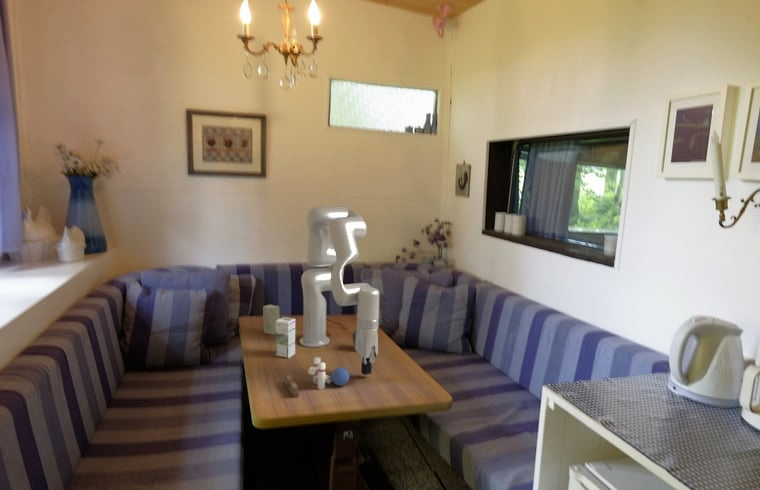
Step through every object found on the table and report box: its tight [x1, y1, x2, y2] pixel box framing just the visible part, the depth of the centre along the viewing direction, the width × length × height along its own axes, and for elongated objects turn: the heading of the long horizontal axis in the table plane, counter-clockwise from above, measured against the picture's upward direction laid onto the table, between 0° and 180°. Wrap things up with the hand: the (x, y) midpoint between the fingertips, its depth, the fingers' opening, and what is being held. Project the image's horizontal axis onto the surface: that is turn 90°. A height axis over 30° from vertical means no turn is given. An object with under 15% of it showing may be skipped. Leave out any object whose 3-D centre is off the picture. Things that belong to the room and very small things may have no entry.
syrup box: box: [275, 317, 296, 359], centre depth 187 cm, size 6×6×14 cm
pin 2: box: [317, 361, 326, 390], centre depth 159 cm, size 2×2×8 cm
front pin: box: [307, 366, 333, 384], centre depth 162 cm, size 2×2×8 cm
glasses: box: [326, 317, 347, 337], centre depth 220 cm, size 13×13×5 cm
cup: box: [351, 328, 357, 346], centre depth 196 cm, size 8×7×8 cm
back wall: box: [284, 373, 300, 398], centre depth 158 cm, size 12×2×3 cm, turn 25°
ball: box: [331, 366, 350, 387], centre depth 162 cm, size 6×6×6 cm
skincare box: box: [262, 304, 281, 335], centre depth 213 cm, size 6×4×12 cm
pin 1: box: [312, 356, 322, 385], centre depth 163 cm, size 2×2×8 cm
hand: (366, 373), depth 169 cm, fingers closed
